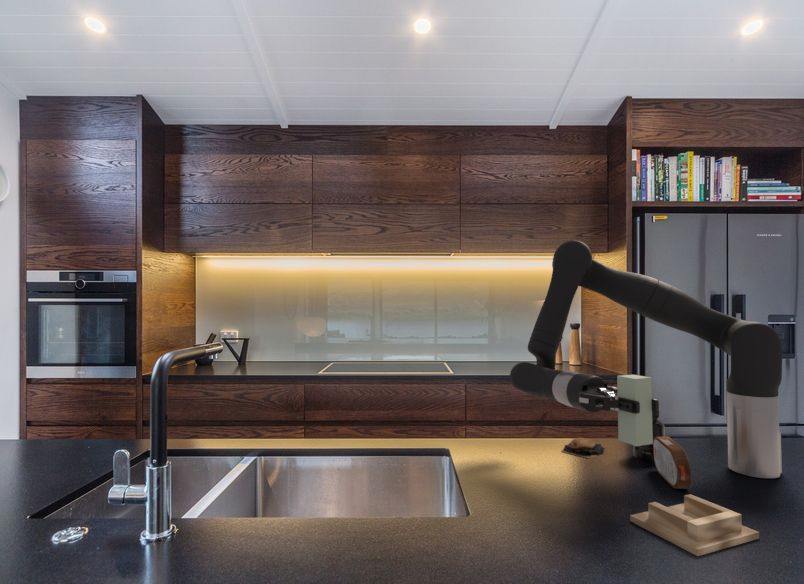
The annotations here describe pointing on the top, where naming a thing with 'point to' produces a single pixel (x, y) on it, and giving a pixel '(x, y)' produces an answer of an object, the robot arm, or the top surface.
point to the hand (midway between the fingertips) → (647, 406)
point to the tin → (672, 462)
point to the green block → (629, 424)
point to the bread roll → (583, 448)
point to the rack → (696, 525)
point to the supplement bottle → (658, 430)
